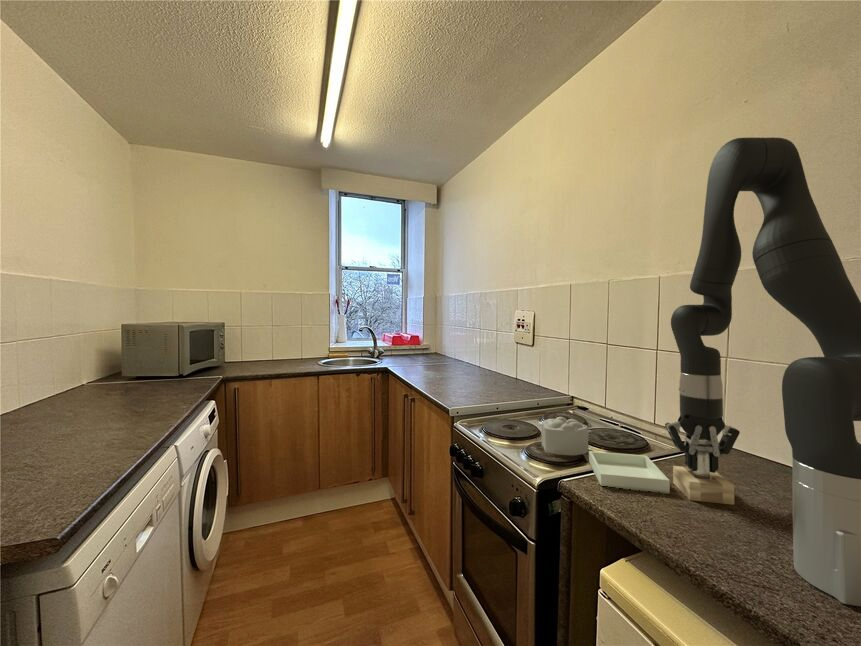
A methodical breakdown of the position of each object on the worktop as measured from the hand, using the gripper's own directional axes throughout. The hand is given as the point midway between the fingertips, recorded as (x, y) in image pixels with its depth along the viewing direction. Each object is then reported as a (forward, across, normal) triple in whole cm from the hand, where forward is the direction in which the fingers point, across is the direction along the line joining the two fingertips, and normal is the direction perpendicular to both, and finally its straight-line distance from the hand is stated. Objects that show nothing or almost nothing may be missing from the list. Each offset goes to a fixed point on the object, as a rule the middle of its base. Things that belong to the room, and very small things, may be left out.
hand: (701, 470), depth 74 cm
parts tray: (+5, -14, +5) cm, 16 cm away
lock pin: (+5, 0, 0) cm, 5 cm away
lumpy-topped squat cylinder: (+5, -26, +21) cm, 34 cm away
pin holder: (+5, 0, 0) cm, 5 cm away
